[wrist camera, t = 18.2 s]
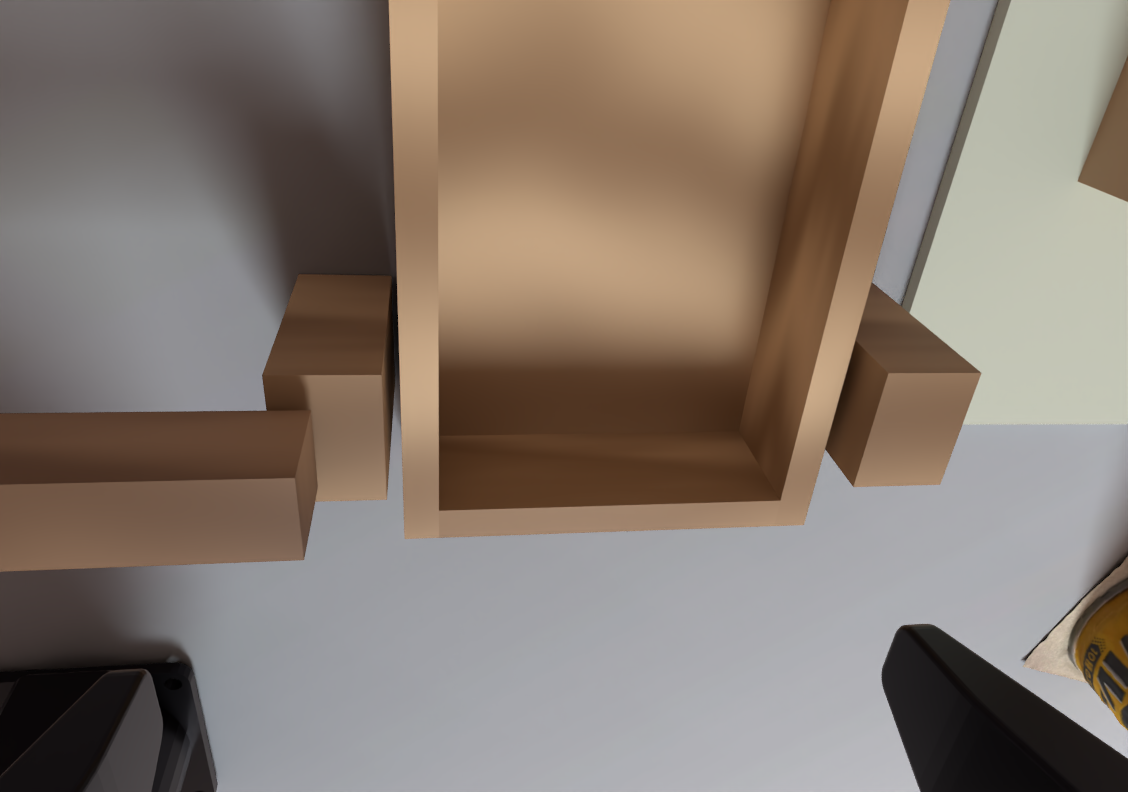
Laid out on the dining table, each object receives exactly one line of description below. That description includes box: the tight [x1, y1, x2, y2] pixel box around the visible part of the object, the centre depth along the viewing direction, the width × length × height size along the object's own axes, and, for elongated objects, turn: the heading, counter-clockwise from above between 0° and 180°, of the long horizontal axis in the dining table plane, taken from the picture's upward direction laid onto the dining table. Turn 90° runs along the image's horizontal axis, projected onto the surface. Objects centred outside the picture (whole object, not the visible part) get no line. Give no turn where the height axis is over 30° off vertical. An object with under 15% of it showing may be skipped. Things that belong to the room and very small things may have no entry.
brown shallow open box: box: [262, 0, 981, 539], centre depth 17 cm, size 16×15×5 cm
